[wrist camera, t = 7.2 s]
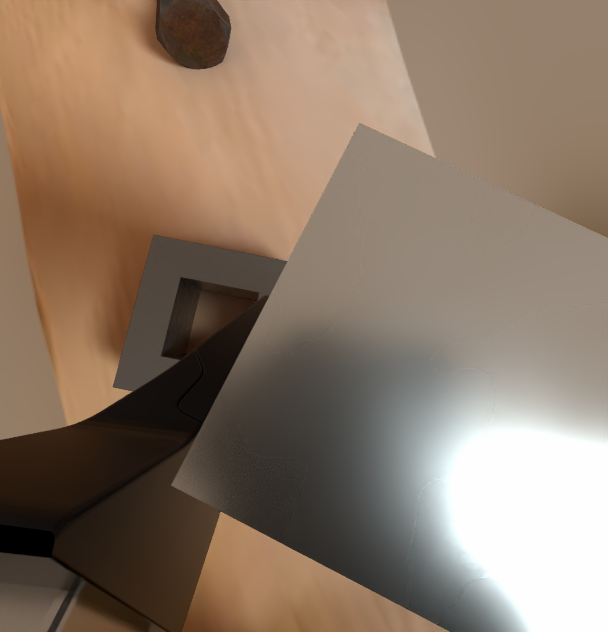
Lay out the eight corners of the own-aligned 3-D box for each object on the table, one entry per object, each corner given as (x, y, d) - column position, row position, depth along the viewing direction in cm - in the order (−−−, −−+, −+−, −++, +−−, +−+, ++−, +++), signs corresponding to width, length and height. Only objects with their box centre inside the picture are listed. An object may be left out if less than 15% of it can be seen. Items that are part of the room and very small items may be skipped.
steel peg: (340, 405, 16) (589, 703, 2) (277, 373, 16) (170, 485, 3) (370, 341, 17) (716, 288, 3) (308, 311, 17) (359, 122, 3)
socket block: (276, 405, 22) (271, 418, 18) (145, 380, 22) (112, 387, 18) (301, 279, 23) (302, 264, 19) (178, 254, 23) (153, 234, 19)
